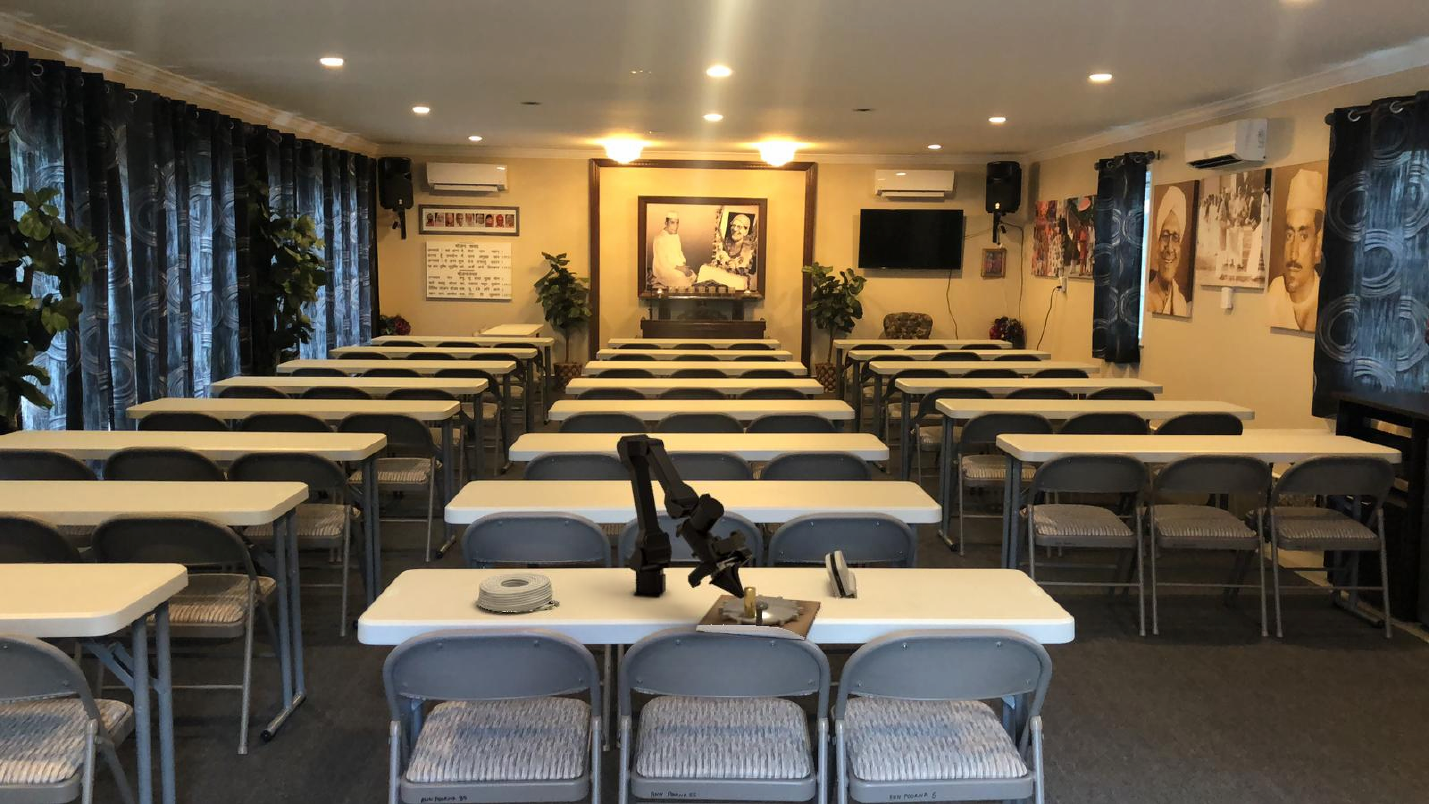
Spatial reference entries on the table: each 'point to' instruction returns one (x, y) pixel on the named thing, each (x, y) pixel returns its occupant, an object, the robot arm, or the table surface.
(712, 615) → the index board
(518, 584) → the cable
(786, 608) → the sprocket
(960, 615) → the table surface
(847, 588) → the beige layered block
